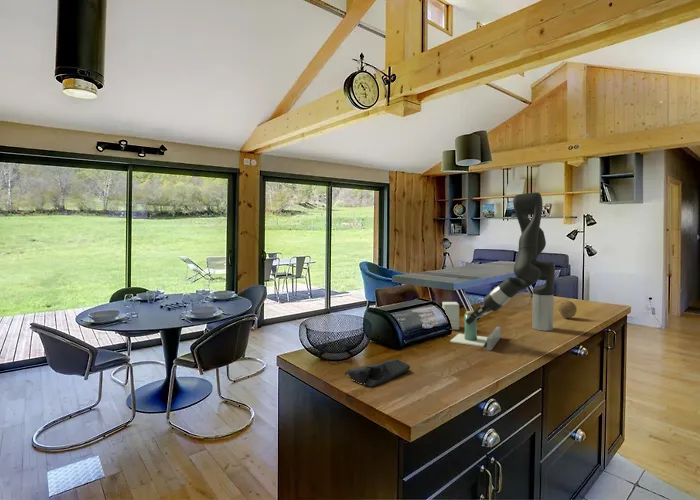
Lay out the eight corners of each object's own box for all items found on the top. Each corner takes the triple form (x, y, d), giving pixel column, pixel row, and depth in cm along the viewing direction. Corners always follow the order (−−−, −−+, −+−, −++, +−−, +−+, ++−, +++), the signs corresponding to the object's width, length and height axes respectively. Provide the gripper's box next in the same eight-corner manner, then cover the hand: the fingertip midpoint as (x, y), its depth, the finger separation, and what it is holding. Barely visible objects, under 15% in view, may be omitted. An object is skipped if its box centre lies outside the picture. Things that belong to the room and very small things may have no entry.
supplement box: (456, 326, 197) (456, 301, 197) (459, 329, 190) (459, 304, 189) (442, 325, 198) (442, 301, 197) (444, 329, 191) (444, 304, 190)
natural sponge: (562, 315, 219) (562, 298, 218) (579, 318, 212) (579, 300, 211) (555, 318, 213) (555, 300, 212) (572, 321, 206) (573, 302, 206)
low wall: (496, 337, 176) (496, 326, 176) (500, 337, 175) (500, 326, 175) (486, 350, 157) (486, 338, 157) (490, 350, 156) (491, 338, 156)
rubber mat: (458, 334, 181) (458, 333, 181) (489, 338, 174) (489, 337, 174) (450, 342, 169) (450, 340, 169) (483, 346, 162) (483, 345, 162)
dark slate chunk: (417, 374, 133) (417, 360, 133) (368, 390, 120) (368, 375, 119) (387, 362, 145) (387, 350, 145) (339, 376, 132) (339, 362, 132)
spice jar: (466, 337, 175) (466, 310, 174) (478, 338, 172) (478, 311, 172) (463, 339, 170) (463, 312, 170) (475, 341, 168) (475, 313, 167)
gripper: (497, 289, 170) (472, 311, 178) (484, 293, 159) (458, 317, 167) (509, 302, 167) (483, 324, 175) (497, 307, 156) (470, 331, 164)
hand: (471, 320), depth 171 cm, fingers open, 8 cm apart
